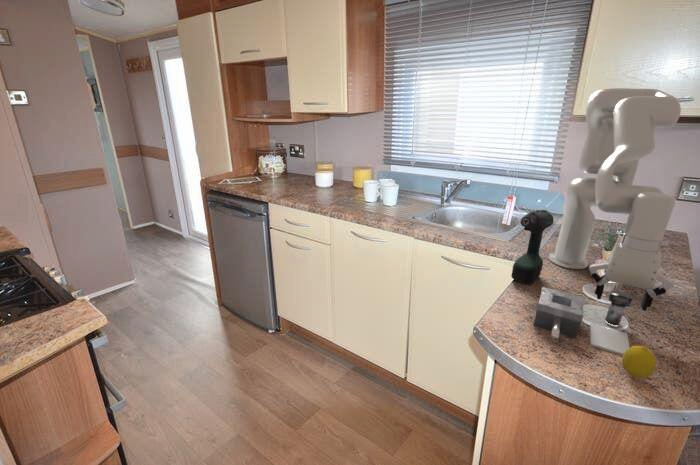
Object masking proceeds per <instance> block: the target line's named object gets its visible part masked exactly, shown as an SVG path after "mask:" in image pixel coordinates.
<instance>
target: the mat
mask: <svg viewBox="0 0 700 465" xmlns="http://www.w3.org/2000/svg"><path fill="white" fill-rule="evenodd" d="M605 327H606V326H603V327H602V325H600V324H596V323H592V322H591V323H590V324H589V336H590V338H589V344H590V347H591V346H592V347H595V348H597V349H600V350H603V351H604V350H605V351H608V352H610V353H614V354H616V355H620V356H623V355H624V353H625V352H626V350H627V349H629V348H630V347H631V346H630V341H629V337H628V335H629V334H628V333H627V332H624V331H622V330H621V331H620V330H616V329H614V330H612V329H613V328H611V329H607V328H608V327H607V328H605Z"/></svg>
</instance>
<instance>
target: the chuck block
mask: <svg viewBox="0 0 700 465" xmlns="http://www.w3.org/2000/svg"><path fill="white" fill-rule="evenodd" d="M584 303H585V297H583V296H579V295H575V294H572V293H568V292H563V291H559V290H556V289H551V288H548V287H545V286H542V288H541V292H540V296H539V299H538V304H537V308H536V313H535V316H534V321H533V325H532V326H533V327H537V328H539V329H543V330H547V331H550V332H551V335H550V338H551V340H552V341H555V342H556V341H559V339H560V335H563V336H565V337H569V338H572V339H575V340H576V339H577V337H578V334H579V331H580V328H581V325H582V321H583V319H584V312H585V308H584V307H585V306H584V305H585V304H584Z"/></svg>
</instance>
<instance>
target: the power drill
mask: <svg viewBox="0 0 700 465" xmlns="http://www.w3.org/2000/svg"><path fill="white" fill-rule="evenodd" d="M554 220H555V219H554V217H553V215H552V213H551V212H549V211H548V210H547V209H537V210H532V211H530V212H527V213H525V215H524V216H522V217H521V218H520V225H521V226H522V227H523V230H524V231H527V232H530V234H529V240H528V245H527V251H526V253H524V254H521V256H519V257H518V258H517V259H515V262H514V263H513V265H512V270H511V278H512V279H513V280H514V281H515V280H516V281H517V282H521V283H523V284H526V285H530V286H531V285H533V283H534V282H536V280H537V279H538V278H539V277H540V276H541V272H542V270H543V265H544V262H543V261H544V260H543V259H542V257H541V256H540V250H541V244H542V238H543V234H544V231H545V230H546V229H548V228H550V227H551V226H552V225H554Z"/></svg>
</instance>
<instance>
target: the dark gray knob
mask: <svg viewBox="0 0 700 465" xmlns="http://www.w3.org/2000/svg"><path fill="white" fill-rule="evenodd" d="M608 300H609V302H610V304H609V308H608V310H607V313H606V316H605V318H604V321H605V320H606V321H607V322H608V323H610V324H613V325H619V326H620V324H621V321H622V318H623V316H624V313H625V310H626V308H627V307H630V306H631V305H632V302H633V300H634V296H633V295H631V294H630V293H628V292H626V291H623V290H617V289H616V290H615V289H613V290H610V292H609V295H608Z"/></svg>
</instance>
